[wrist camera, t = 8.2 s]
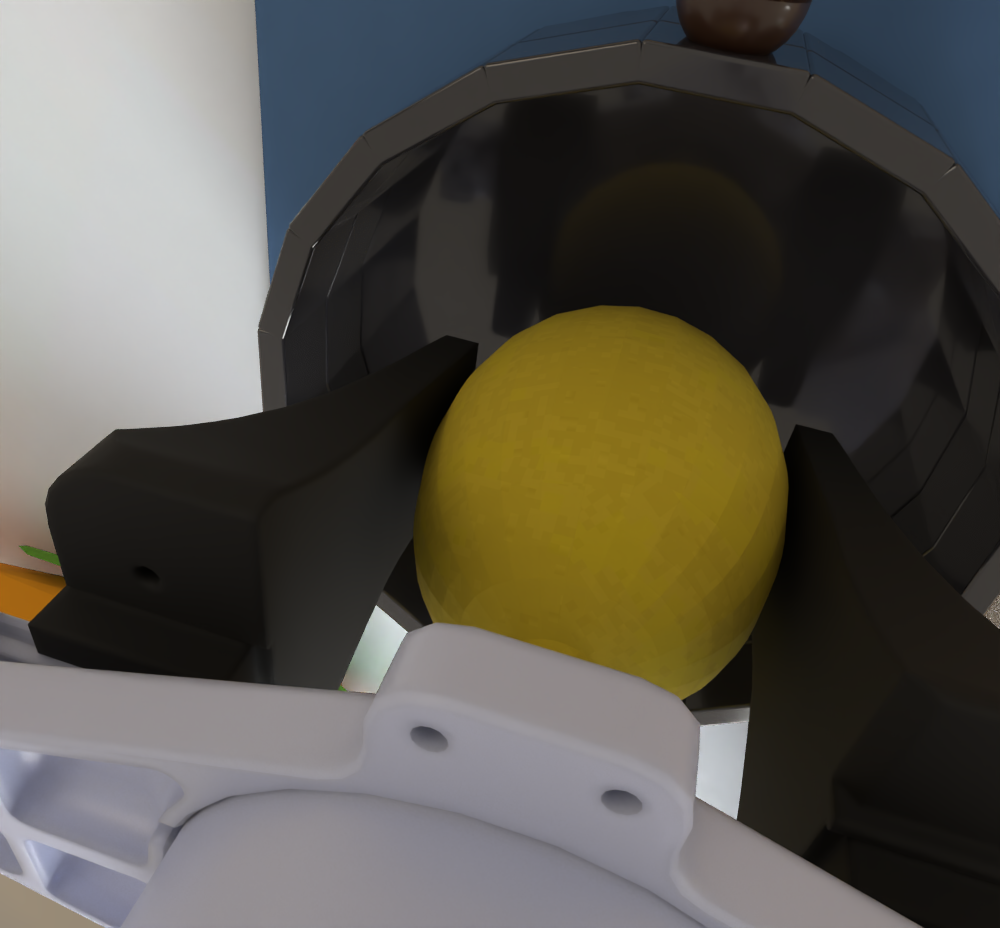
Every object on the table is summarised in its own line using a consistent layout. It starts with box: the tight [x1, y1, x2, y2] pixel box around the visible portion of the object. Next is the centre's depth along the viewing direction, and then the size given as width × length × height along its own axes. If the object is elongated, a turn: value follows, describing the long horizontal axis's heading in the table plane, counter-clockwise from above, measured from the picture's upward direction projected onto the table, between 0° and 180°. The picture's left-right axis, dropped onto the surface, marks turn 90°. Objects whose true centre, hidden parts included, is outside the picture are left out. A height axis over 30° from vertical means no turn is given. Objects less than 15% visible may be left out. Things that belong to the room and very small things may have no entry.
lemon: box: [413, 305, 789, 700], centre depth 13 cm, size 6×6×8 cm
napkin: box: [255, 0, 1000, 285], centre depth 16 cm, size 17×16×1 cm
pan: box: [258, 6, 1000, 726], centre depth 15 cm, size 13×13×4 cm
